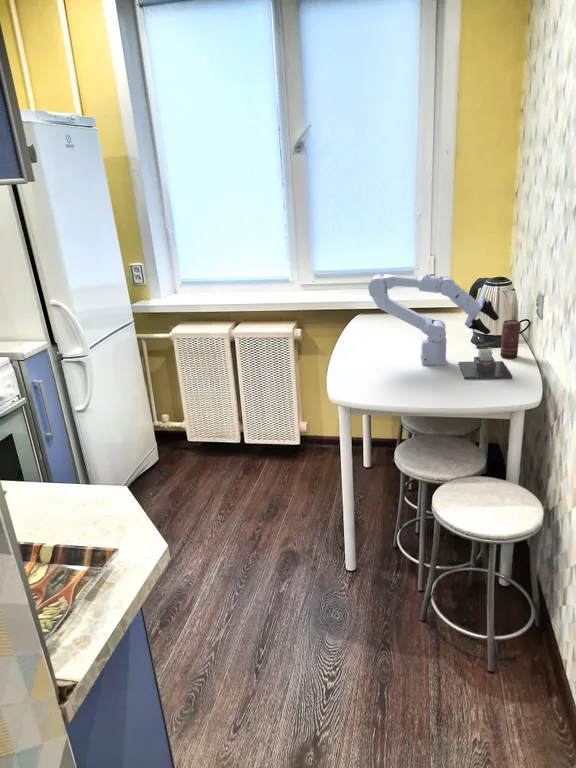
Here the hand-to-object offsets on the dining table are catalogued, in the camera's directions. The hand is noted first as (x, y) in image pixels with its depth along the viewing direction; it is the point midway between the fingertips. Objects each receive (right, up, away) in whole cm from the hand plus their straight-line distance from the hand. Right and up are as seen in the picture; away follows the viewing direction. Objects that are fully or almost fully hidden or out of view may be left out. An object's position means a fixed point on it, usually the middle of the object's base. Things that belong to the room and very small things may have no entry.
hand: (492, 326), depth 207 cm
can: (+10, -11, +10) cm, 18 cm away
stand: (-4, -17, -3) cm, 17 cm away
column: (-4, -17, -3) cm, 17 cm away
